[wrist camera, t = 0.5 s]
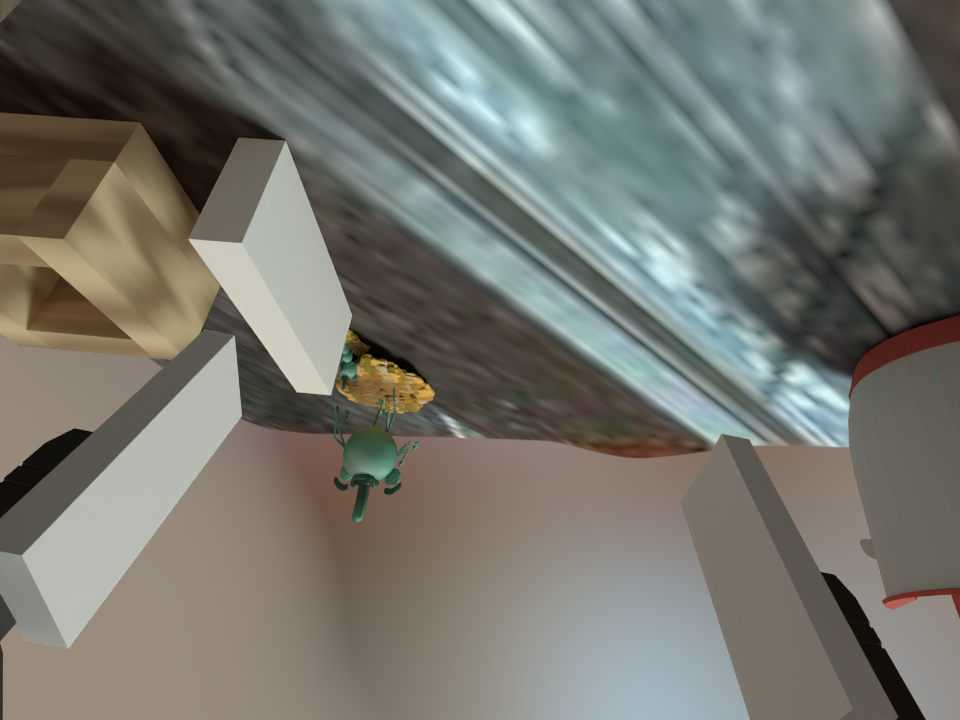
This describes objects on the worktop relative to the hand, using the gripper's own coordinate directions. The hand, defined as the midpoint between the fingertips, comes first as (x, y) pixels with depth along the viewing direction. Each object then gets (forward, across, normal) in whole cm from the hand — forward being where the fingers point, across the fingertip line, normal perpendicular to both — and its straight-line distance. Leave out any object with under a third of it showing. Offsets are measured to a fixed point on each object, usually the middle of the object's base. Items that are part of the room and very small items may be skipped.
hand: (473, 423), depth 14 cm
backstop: (+20, -12, -5) cm, 24 cm away
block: (+19, -24, -4) cm, 31 cm away
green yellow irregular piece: (+29, -8, -20) cm, 36 cm away
